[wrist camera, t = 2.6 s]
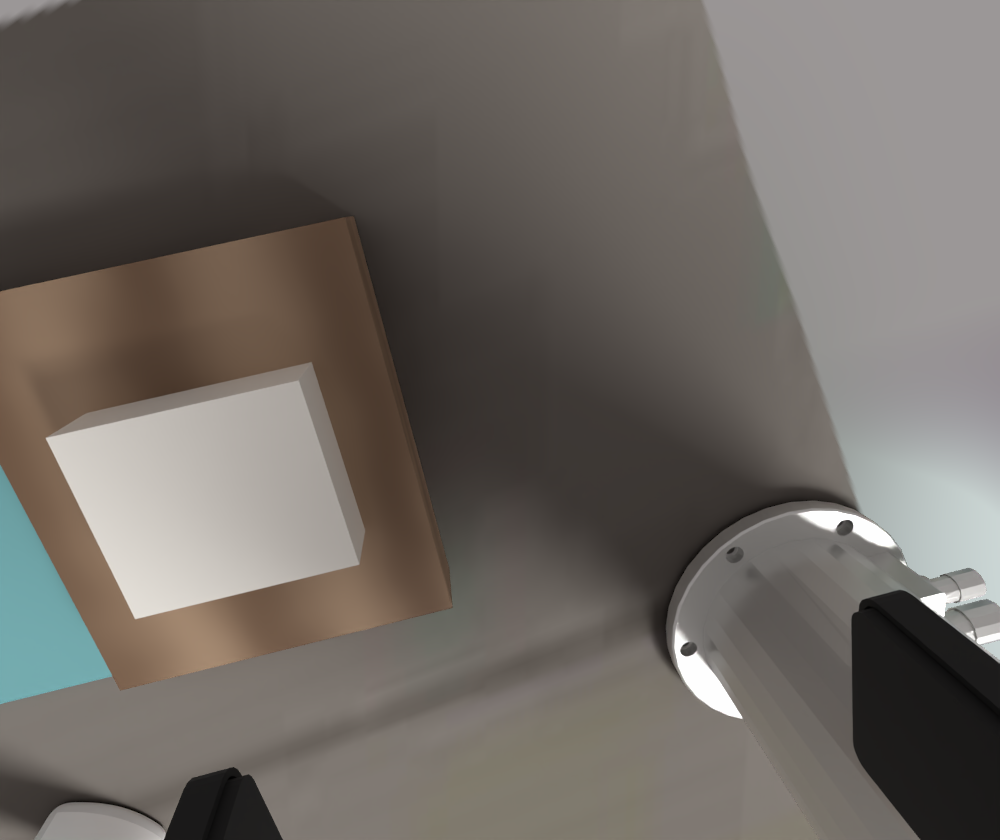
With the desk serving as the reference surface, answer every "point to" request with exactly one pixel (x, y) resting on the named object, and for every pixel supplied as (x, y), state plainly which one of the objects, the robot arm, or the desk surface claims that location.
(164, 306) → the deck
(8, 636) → the mat
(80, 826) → the eye dropper bottle
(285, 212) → the desk surface
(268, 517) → the tile
